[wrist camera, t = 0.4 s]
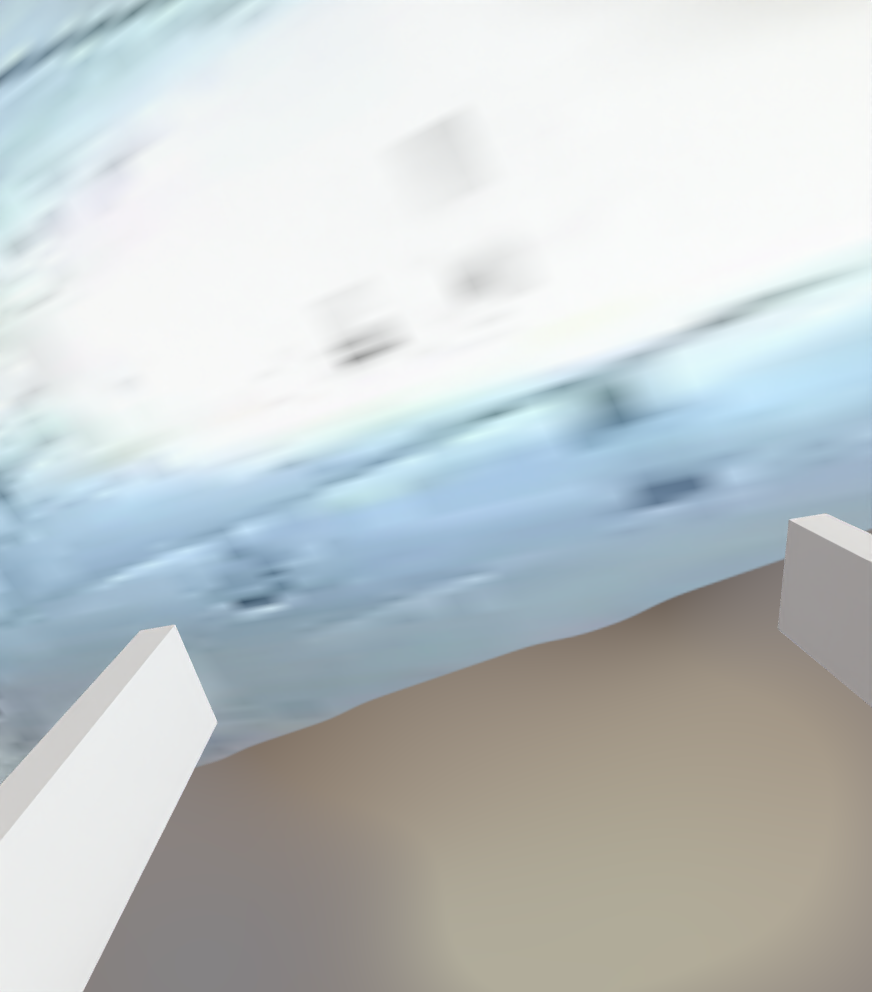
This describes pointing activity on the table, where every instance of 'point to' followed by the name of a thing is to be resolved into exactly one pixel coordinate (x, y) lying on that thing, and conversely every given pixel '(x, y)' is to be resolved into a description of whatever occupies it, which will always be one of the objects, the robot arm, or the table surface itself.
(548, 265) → the table surface
